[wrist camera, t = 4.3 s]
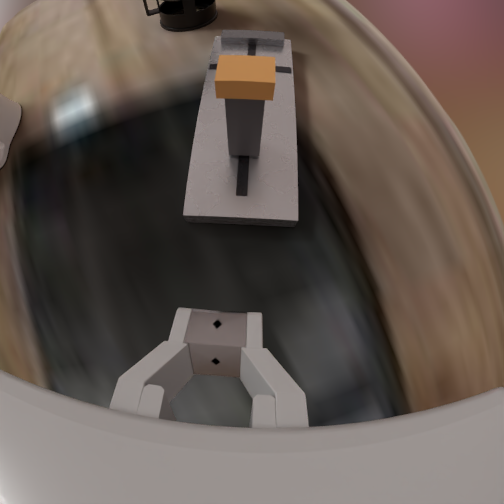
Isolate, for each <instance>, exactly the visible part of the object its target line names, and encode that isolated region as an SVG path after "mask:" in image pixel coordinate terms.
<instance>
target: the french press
mask: <svg viewBox="0 0 504 504" xmlns="http://www.w3.org/2000/svg"><path fill="white" fill-rule="evenodd" d="M156 1H157V5H158V8H156V9H153V10H148V6H147V2H146V0H143V3H144V6H145V10H146V14H147V16H151V15H154V14H158V13H159V14H160V18H161V20H160V24H161V26H162V27H163V28H164V29H166V30H169V31H189V30H194V29H198V28H201V27H204V26H206V25H208V24H210V23H212V22H213V21H214V20H215V19H216V18H217V15H218V13H217V10H216V3H215V0H163V1H164V2H163V3H162V4H161V5H160V6H159V1H158V0H156ZM196 8H204V9H202V10H199V11H196ZM182 9H184V14H180V15H172V14H173V13H175V12H177V11H179V10H182Z"/></svg>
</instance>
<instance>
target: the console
mask: <svg viewBox="0 0 504 504" xmlns="http://www.w3.org/2000/svg"><path fill="white" fill-rule="evenodd" d="M219 55H249V56H267V57H275V90H274V97H273V101H270V100H265V106H264V116H263V125H262V135H261V144H260V154H259V156H244V155H229V150H228V138H227V125H226V111H225V99H221V98H216V91H215V81H214V80H215V75H216V70H217V65H218V60H219ZM183 216H184V218H185V219H186V221H187V222H196V223H221V224H243V225H263V226H281V227H295V225H296V224H297V222H298V169H297V136H296V113H295V94H294V78H293V64H292V51H291V40H287V39H284V33H283V32H271V31H255V30H222V34H221V36H216V37H215V40H214V44H213V48H212V52H211V56H210V61H209V65H208V69H207V74H206V79H205V83H204V88H203V93H202V98H201V103H200V108H199V113H198V119H197V124H196V130H195V136H194V141H193V147H192V154H191V160H190V167H189V173H188V180H187V188H186V195H185V203H184V211H183Z"/></svg>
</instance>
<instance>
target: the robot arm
mask: <svg viewBox="0 0 504 504" xmlns="http://www.w3.org/2000/svg"><path fill="white" fill-rule="evenodd" d="M20 117H21V107H20V105H19V104H18V103H17V102H14V101H12V100H10V99H8V98H7V97H5V96H3V95H2V94H1V93H0V168H1V167H2V166H3V165H4V163H5V161H6V159H7V155H8V150H9V145H10V143H11V140H12V138H13V136H14V134H15V132H16V130H17V127H18V124H19V121H20ZM193 374H201V375H217V376H228V377H240V379H241V381H242V383H243V384H244V386H245V388H246V389H247V391H248V393H249V394H250V396H251V397H252V399H253V403H252V410H251V417H250V424H249V428H245V427H226V426H213V425H202V424H193V423H185V422H178V421H176V418H175V416H174V414H173V411H172V409H171V406H170V403H169V402H170V401H171V400H172V399H173V398H174V397H175V396H176V395H177V393H178V392H179V391H180V390H181V389H182V388H183V387H184V386H185V384H186V383H187V382H188V381H189V380H190V379H191V378H192V377H193ZM0 504H504V387H497V388H494V389H492V390H489V391H486V392H484V393H481V394H478V395H475V396H472V397H469V398H466V399H463V400H460V401H457V402H453V403H450V404H446V405H443V406H439V407H435V408H432V409H428V410H424V411H419V412H415V413H411V414H406V415H401V416H396V417H391V418H385V419H379V420H373V421H366V422H359V423H351V424H342V425H331V426H318V427H309V426H308V416H307V406H306V397H305V393H304V392H303V391H302V390H301V388H300V387H299V386H298V385H297V384H296V383H295V381H294V380H293V379H292V378H291V377H290V376H289V374H288V373H287V372H286V371H285V370H284V368H283V367H282V366H281V365H280V364H279V362H278V361H277V360H276V359H275V358H274V356H273V355H272V354H271V353H270V352H269V350H268V349H267V348H263V333H262V314H261V313H254V312H231V311H213V310H202V309H189V308H181V307H179V308H178V309H177V311H176V315H175V318H174V322H173V326H172V329H171V333H170V336H169V340H168V341H164V342H162V343H161V344H160V345H159V346H157V347H156V348H155V349H154V350H152V351H151V352H150V353H149V354H148V355H146V356H145V357H144V358H143V359H141V360H140V361H139V362H138V363H136V364H135V365H134V366H133V367H132V368H130V369H129V370H128V371H127V372H125V373H124V374H123V375H122V376H120V377H119V379H118V382H117V385H116V388H115V391H114V394H113V397H112V400H111V404H110V407H109V408H106V407H102V406H99V405H95V404H91V403H88V402H84V401H81V400H78V399H74V398H71V397H68V396H65V395H62V394H59V393H56V392H53V391H51V390H48V389H45V388H43V387H40V386H37V385H35V384H32V383H30V382H27V381H25V380H23V379H20V378H18V377H16V376H13V375H11V374H9V373H7V372H5V371H3V370H0Z"/></svg>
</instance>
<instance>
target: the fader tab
mask: <svg viewBox="0 0 504 504" xmlns="http://www.w3.org/2000/svg"><path fill="white" fill-rule="evenodd" d="M214 81H215V91H216V98H221V99H225V111H226V125H227V138H228V150H229V155H244V156H259V154H260V144H261V135H262V125H263V116H264V106H265V100H270V101H273V97H274V90H275V57H267V56H249V55H219V60H218V65H217V70H216V75H215V80H214Z"/></svg>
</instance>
